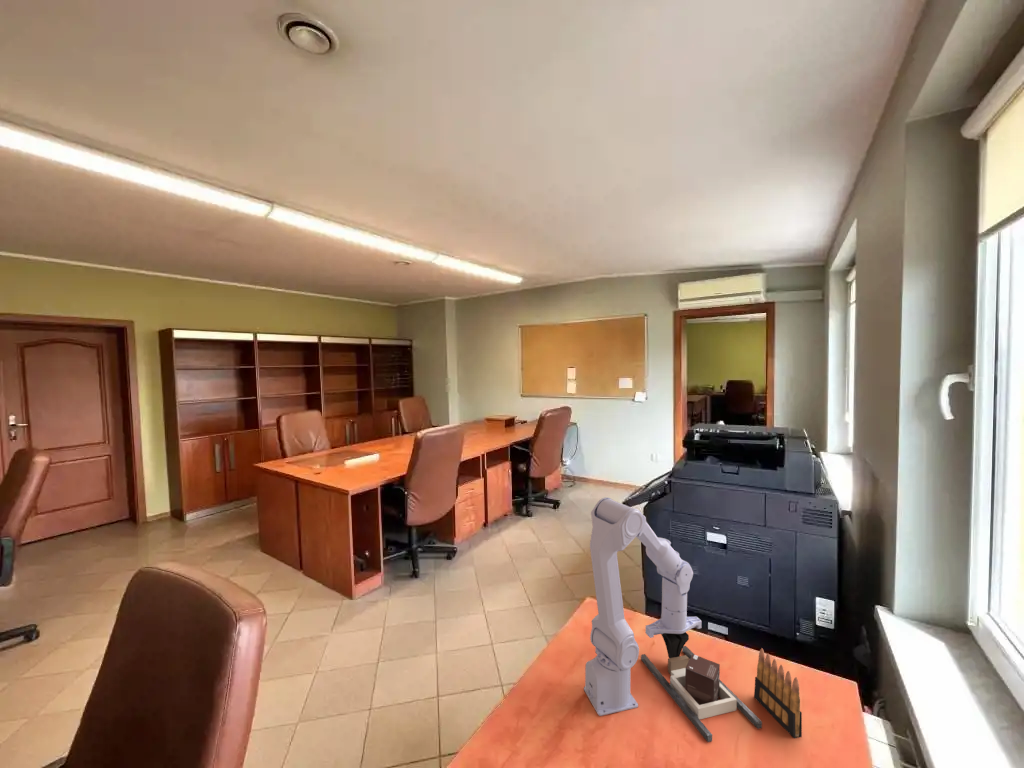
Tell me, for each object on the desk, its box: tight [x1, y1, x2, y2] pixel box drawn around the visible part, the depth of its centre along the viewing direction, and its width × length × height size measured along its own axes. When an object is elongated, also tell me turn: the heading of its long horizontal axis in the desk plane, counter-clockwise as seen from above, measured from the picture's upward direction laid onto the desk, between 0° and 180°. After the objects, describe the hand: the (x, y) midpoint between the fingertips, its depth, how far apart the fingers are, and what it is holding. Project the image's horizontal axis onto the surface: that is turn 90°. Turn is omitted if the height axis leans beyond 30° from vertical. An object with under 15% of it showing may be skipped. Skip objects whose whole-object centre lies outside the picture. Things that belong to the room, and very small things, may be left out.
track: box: [640, 645, 763, 743], centre depth 97 cm, size 13×24×2 cm, turn 15°
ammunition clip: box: [753, 647, 803, 739], centre depth 89 cm, size 11×2×12 cm, turn 11°
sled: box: [667, 654, 738, 720], centre depth 96 cm, size 10×14×3 cm
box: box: [684, 653, 721, 705], centre depth 94 cm, size 6×6×7 cm
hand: (673, 659), depth 105 cm, fingers closed, pressing on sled
